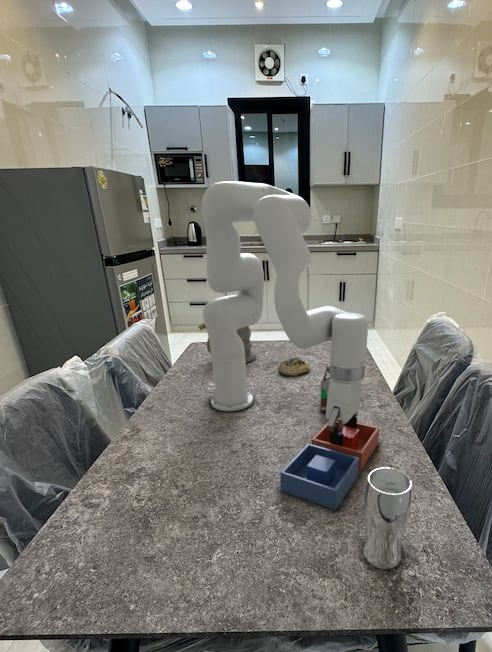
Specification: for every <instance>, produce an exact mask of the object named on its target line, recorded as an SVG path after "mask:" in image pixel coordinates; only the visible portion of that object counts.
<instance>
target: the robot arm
mask: <svg viewBox="0 0 492 652" xmlns="http://www.w3.org/2000/svg"><path fill="white" fill-rule="evenodd" d="M200 208H201V209H200V210H201V217H202V222H203V227H204V231H205V232H204V233H205V238H206V239H205V240H206V241H205V243H206V246H205V248H206V249H205V250H206V273H207V282H208V286H209V288H210V289H211V290H212V291H213V292H215V293H217V294H226V293H227V294H228V293H233V292H237V293H235V294H234V293H233V294H229V295H224V296H223V295H222V296H220V297H216V298H213V299H211V300H209V301H207V303H206V304H205V305H204V306H203V309H202V318H203V323H205V326H206V329H205V330H206V332H207V338H208V337H209V342H210V349H211V354H210V356H211V365H212V374H213V376H212V377H213V383H209V384H208V387H207V388H206V393H209V394H212V397H211V399H210V404H211V407H212V408H214V410H218V411H221V412H236V411H242V410H245V409H246V408H248V407H250V406H251V405H253V403H254V396H253V394H251V393H250V392H248V377H247V366H246V364H247V363H245V351H244V344H243V341H242V340H241V338H240V337H239V335H238V334H237V332H236V330H238V329H240V328H243V327H247V326H249V327H250V326H254V325H255V324H257V323H258V322H259V321H260V320H261V319H262V315H263V311H264V290H265V272H264V268H263V265H262V262H261V261H260V259H259V258H258V257H257V256H256V255H255V254H252V253H250V252H241V237H240V232H239V231H238V228H237V226H236V225H235V223H242V222H243V223H248V222H250V223H251V222H253V223H254V225H255V228H256V230H257V232H258V235H259V237H260V239H261V241H262V244H263V246H264V248H265V250H266V252H267V255H268V257H269V259H270V261H271V264H272V266H273V268H274V271H275V274H276V277H275V279H276V280H275V284H274V291H273V293H274V297H273V298H274V308H275V313H276V315H277V318H278V320H279V323H280V324H281V327H282V329H283V331H284V333H285V335H286V337H287V338H288V340H289V341H290V342H291V343H292V344H293V345H294V346H296V347H297V348H300V349H310V348H312V347H315V346H318V345H320V344H323V343H325V342H330V363H329V367H330V378H331V380H330V385H329V390H328V398H327V408H326V412H325V419H326V420H327V423H328V424H327V423H326V424H327V426H328V429H329V433H330V436H329V443H332V444H335V445H339V446H343V438H344V434H342V432H343V428H344V426H346V427H350V428H354V429H356V428H357V423H358V415H359V411H358V410H359V409H360V407H361V399H362V382H363V380H365V372H366V359H367V358H366V357H367V347H368V335H369V320H368V318H367V316H365V315H364V314H362V313H358V312H347V311H345V310H342V309H340V308H339V307H335V306H332V305H324V306H319V307H317V308H313V309H309V310H306V308H305V306H304V304H303V301H302V298H301V295H300V290H299V289H300V288H299V285H300V279H301V276H302V274H303V273H304V271H306V269H308V268H309V267H310V265H311V263H312V260H313V257H312V254H311V252H310V249H309V247H308V244H307V242H306V241H305V238H304V236H303V234H305V233H306V232H307V231H308V230H309V229H310V227H311V224H312V220H313V219H312V210H311V207H310V206H309V204H308V203H307V201H306V200H305V199H304V198H303V197H301V196H299V195H297V194H294V193H292V192H289V191H287V190H284V189H281V188H278V187H276V186H273V185H270V184H267V183H261V182H247V181H233V180H230V181H229V180H226V181H219V182H218V181H217V182H214V183H213V184H211V185H210V186H208V188H206V190H205V192H204V194H203V196H202V200H201V205H200ZM338 418H340V419H341V420H342V421H339V420H337V419H338ZM336 423H340V428H339V429H338V427H336Z"/></svg>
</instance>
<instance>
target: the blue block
mask: <svg viewBox="0 0 492 652" xmlns="http://www.w3.org/2000/svg"><path fill="white" fill-rule="evenodd" d="M334 479H335V460H332V459H329V458H325V457H322V456H318V455H316V456H315V457H314V458H313V459H312V460H311V461H310V463H309V464H308V465H307V480H310V481H313V482H316V483H319V484H322V485H325V486H328V487H329V486H330V484H331V483H332V481H333V480H334Z"/></svg>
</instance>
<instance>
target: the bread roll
mask: <svg viewBox="0 0 492 652" xmlns="http://www.w3.org/2000/svg"><path fill="white" fill-rule="evenodd" d="M309 370H310V368H309V366H308V363H307V362H305V361H304V360H302V359H301V358H299V357H297V356H296V357H290V358H289V359H287V360H286V359H285V360H283V361H282V362H281V363H280V365H279V367H278V371H279V373H280V374H282V375H285V376H299V375H301V374H303V373H307V372H308V371H309Z"/></svg>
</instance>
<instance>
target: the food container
mask: <svg viewBox="0 0 492 652" xmlns="http://www.w3.org/2000/svg"><path fill="white" fill-rule="evenodd" d="M330 380H331V378H330V366H325V372H324V375H323V378H322V380H320V412H321V413H326V408H327V398H328V390H329V385H330Z"/></svg>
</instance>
